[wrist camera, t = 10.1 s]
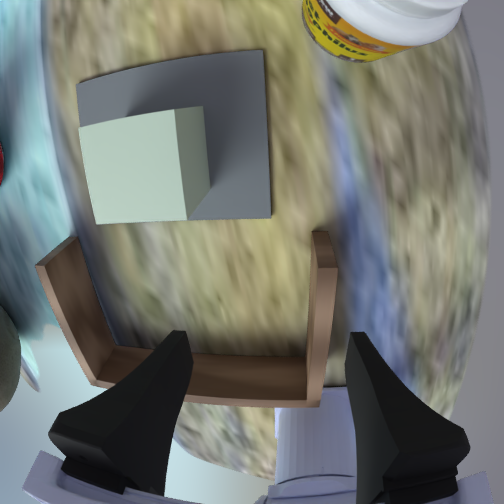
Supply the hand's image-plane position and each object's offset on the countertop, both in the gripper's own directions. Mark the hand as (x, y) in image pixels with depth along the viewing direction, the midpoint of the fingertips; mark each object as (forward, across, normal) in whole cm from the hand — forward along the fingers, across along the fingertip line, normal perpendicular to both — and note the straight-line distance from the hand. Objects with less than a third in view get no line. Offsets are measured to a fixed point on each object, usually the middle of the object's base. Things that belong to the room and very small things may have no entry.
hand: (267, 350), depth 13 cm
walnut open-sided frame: (+8, +6, +4) cm, 11 cm away
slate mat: (+8, +6, -8) cm, 13 cm away
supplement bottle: (+8, -5, -15) cm, 18 cm away
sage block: (+8, +6, -8) cm, 12 cm away
